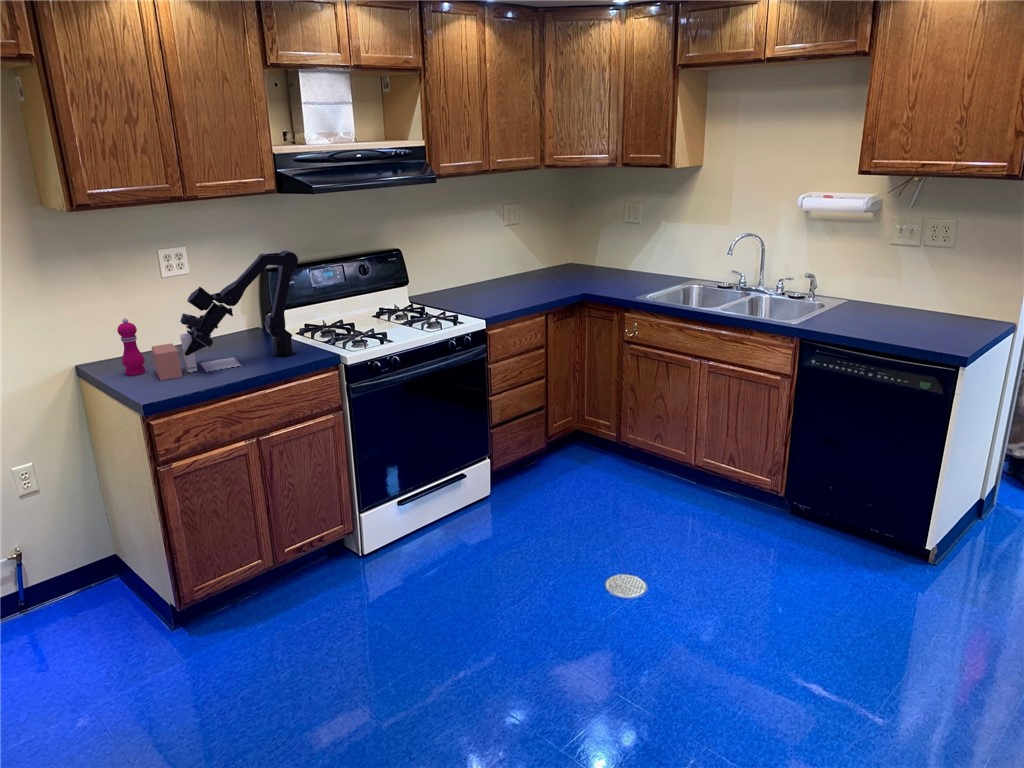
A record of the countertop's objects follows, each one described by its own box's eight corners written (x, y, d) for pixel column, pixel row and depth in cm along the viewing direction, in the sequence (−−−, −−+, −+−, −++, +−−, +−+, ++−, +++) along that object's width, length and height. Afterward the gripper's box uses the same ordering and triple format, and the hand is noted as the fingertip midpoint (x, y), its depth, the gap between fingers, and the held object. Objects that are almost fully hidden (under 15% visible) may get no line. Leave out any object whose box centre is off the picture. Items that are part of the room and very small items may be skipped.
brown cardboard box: (179, 367, 266) (175, 342, 263) (185, 376, 256) (180, 350, 253) (156, 371, 262) (151, 346, 259) (160, 380, 252) (155, 354, 249)
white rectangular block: (195, 367, 265) (189, 333, 261) (197, 371, 261) (191, 336, 257) (185, 369, 264) (179, 334, 260) (188, 372, 260) (182, 337, 256)
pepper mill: (121, 373, 261) (110, 318, 255) (142, 368, 266) (132, 314, 259) (128, 377, 256) (117, 322, 250) (150, 372, 261) (139, 318, 254)
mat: (234, 358, 275) (233, 357, 275) (241, 366, 266) (241, 365, 266) (200, 364, 269) (200, 363, 269) (206, 372, 260) (206, 371, 260)
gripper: (188, 300, 264) (160, 334, 263) (197, 310, 249) (168, 346, 248) (214, 318, 271) (187, 351, 269) (224, 328, 256) (196, 364, 254)
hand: (184, 353), depth 260 cm, fingers closed on white rectangular block, 5 cm apart
